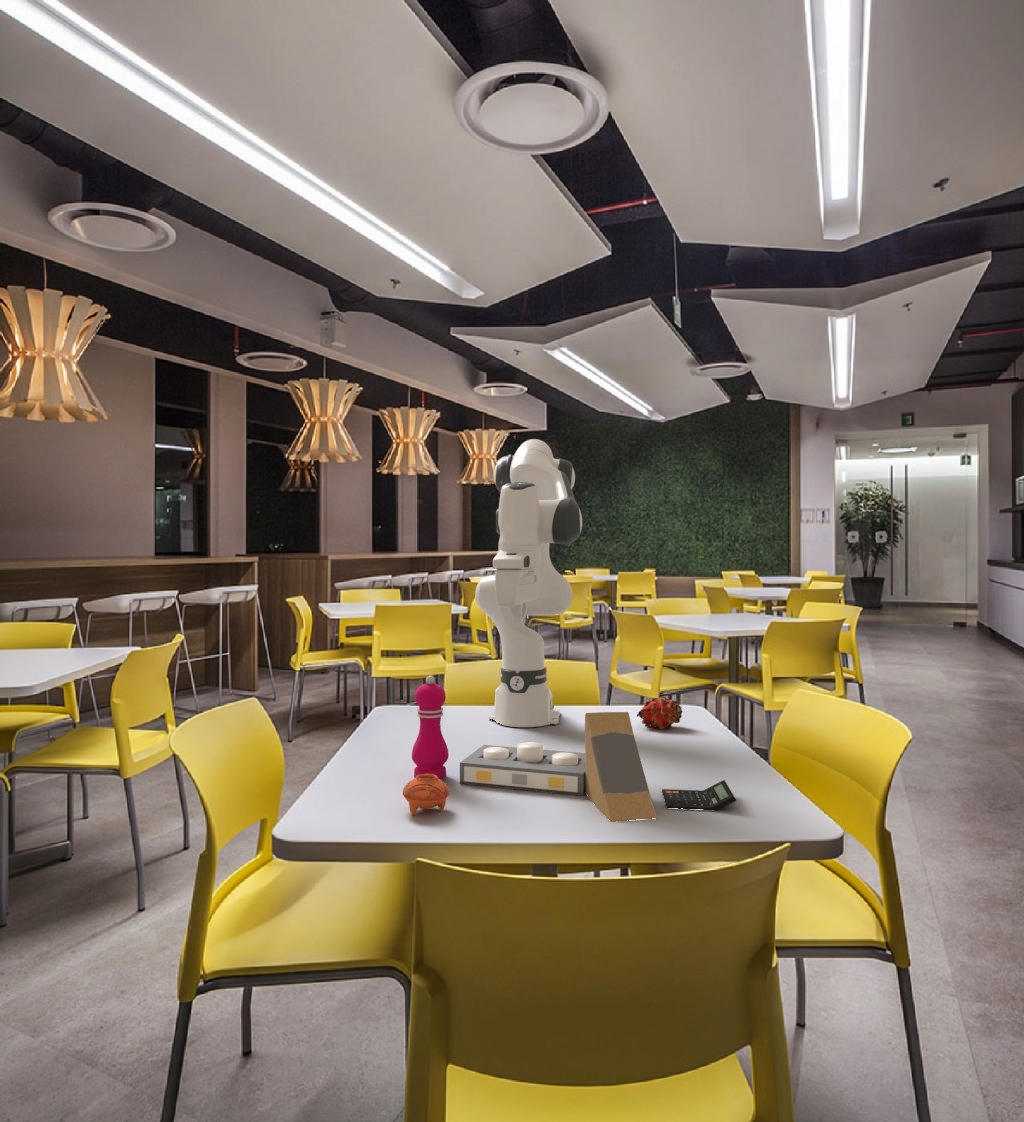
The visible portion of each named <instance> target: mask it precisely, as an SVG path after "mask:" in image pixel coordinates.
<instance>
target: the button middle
mask: <svg viewBox="0 0 1024 1122" xmlns="http://www.w3.org/2000/svg"><path fill="white" fill-rule="evenodd" d="M516 747H517V761H520V762H532V763H541V762H542V761H543V750H544V745H543V744H542V743H540V742H533V741H527V742H526V741H525V742H519V743H518V744H517V745H516Z"/></svg>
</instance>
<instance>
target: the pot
mask: <svg viewBox="0 0 1024 1122" xmlns="http://www.w3.org/2000/svg"><path fill="white" fill-rule="evenodd" d="M402 795H403V797H404V799H405V800H406V801H407V802H408V806H409V812H410V815H411V816H412V815H413V816H414V817H415V816H416V813H417V811H418V809H421V810H427V809H429V810H430V809H433V808H436V807H438V808H439V811H440V812H439V813H441V812H443V811H444V809H445V807H446V806H445V805H446V802H447V798H448V797H449V795H450V790H449V788H448V786H447V785H446V783H445V782H444V781H443V780H440V779H438V777H437V776H436V775H434V774H424V775H417V776H416V778H413V779H411V780H409V781H408V782H407V783H406V784H405V785H404V787H403V788H402Z"/></svg>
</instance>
